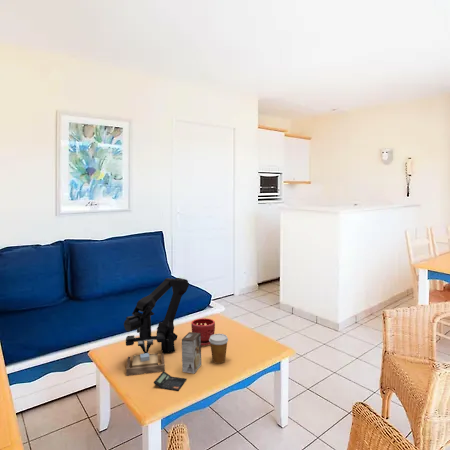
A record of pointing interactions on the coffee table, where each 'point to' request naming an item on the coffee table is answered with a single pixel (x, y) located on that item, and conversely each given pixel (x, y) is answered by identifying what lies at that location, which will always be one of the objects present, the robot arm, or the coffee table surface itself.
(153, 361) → the beige rectangular block
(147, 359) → the light blue square block
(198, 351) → the coffee box
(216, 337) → the disposable coffee cup
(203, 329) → the plant pot
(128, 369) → the dock bay
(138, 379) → the coffee table surface
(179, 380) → the calculator
